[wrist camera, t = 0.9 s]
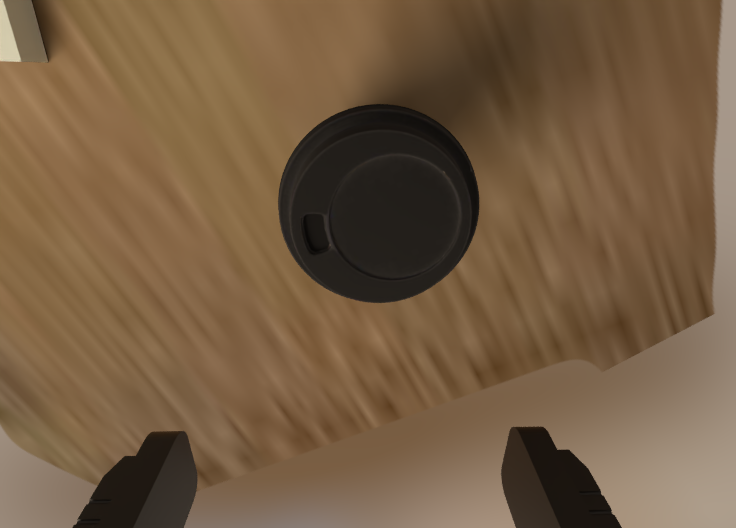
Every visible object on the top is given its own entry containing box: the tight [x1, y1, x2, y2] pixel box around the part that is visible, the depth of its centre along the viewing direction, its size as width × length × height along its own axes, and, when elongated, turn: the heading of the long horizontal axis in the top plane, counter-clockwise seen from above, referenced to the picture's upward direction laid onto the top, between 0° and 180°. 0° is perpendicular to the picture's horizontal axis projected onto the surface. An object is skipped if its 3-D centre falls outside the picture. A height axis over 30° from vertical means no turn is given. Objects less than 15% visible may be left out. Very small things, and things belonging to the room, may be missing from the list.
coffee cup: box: [278, 104, 479, 303], centre depth 25 cm, size 9×9×15 cm
